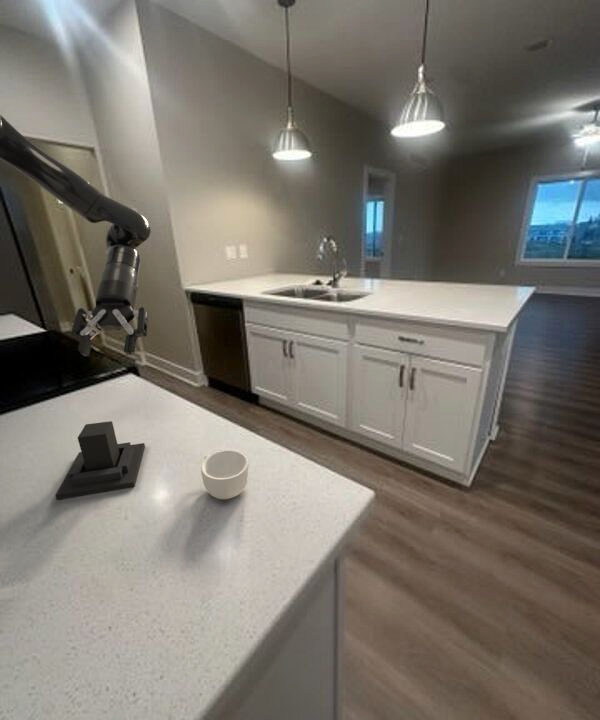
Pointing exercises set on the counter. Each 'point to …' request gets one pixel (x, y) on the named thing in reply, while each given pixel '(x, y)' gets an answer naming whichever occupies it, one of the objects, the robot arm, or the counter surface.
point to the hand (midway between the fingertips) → (106, 354)
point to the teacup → (225, 473)
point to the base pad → (106, 485)
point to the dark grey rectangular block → (99, 446)
